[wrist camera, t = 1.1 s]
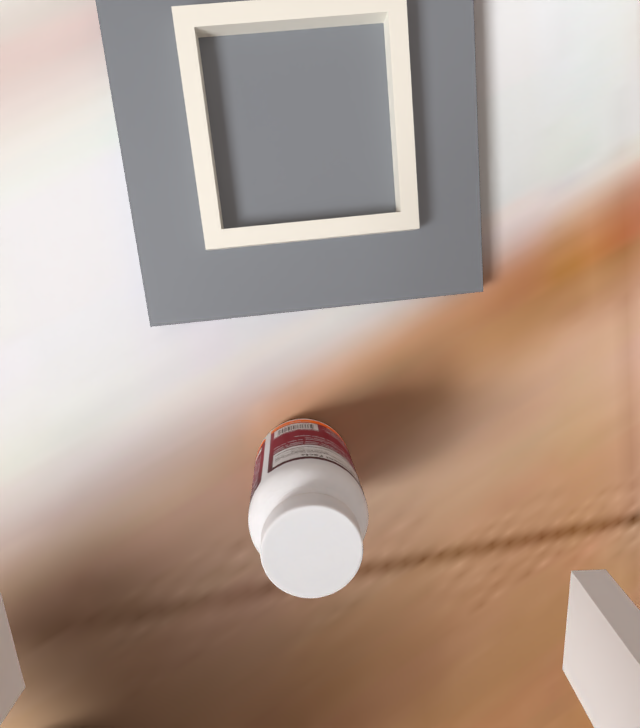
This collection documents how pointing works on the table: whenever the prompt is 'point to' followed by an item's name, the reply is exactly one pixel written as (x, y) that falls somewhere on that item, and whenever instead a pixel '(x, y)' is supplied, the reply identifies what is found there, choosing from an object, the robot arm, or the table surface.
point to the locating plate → (296, 151)
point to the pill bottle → (307, 509)
